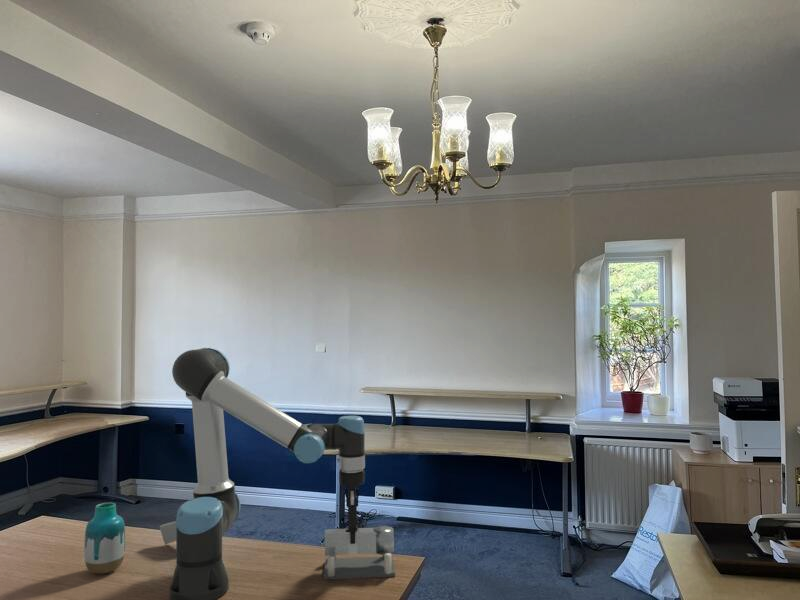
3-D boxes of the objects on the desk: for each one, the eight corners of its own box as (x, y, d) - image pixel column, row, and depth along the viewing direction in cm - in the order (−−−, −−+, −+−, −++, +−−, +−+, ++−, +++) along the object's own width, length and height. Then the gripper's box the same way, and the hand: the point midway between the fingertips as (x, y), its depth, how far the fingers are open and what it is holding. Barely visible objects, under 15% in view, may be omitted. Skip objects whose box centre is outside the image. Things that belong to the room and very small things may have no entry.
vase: (132, 566, 173) (133, 500, 174) (106, 581, 163) (106, 512, 164) (103, 562, 176) (104, 498, 177) (75, 577, 166) (76, 509, 166)
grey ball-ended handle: (324, 557, 166) (324, 535, 166) (325, 548, 172) (325, 528, 172) (394, 553, 167) (394, 532, 168) (393, 545, 173) (392, 525, 174)
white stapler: (167, 556, 186) (204, 543, 182) (158, 526, 188) (194, 512, 184) (175, 552, 190) (211, 538, 186) (166, 522, 192) (202, 508, 188)
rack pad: (323, 580, 162) (323, 558, 162) (325, 561, 175) (325, 541, 175) (395, 577, 164) (395, 555, 164) (392, 558, 177) (391, 538, 177)
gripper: (339, 463, 179) (340, 540, 178) (338, 477, 162) (339, 563, 161) (364, 462, 179) (365, 539, 178) (365, 476, 162) (366, 562, 161)
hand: (352, 550), depth 169 cm, fingers closed on grey ball-ended handle, 4 cm apart
